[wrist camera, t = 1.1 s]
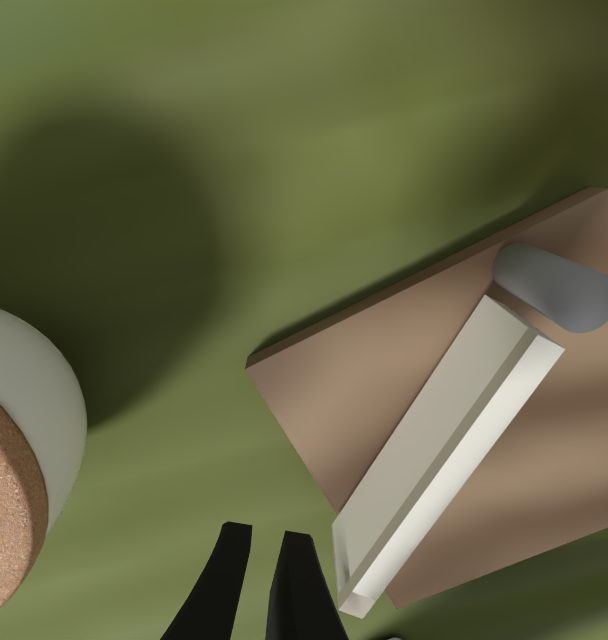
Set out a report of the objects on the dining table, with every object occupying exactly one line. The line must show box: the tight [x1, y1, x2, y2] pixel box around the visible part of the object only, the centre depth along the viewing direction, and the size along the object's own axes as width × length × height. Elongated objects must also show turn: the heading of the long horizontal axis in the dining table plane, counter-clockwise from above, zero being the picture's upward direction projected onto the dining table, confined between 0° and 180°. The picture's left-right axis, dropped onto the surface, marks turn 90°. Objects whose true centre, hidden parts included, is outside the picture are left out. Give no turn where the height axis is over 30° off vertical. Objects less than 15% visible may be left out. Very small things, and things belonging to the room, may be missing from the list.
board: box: [245, 186, 608, 609], centre depth 19 cm, size 15×15×5 cm
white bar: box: [331, 243, 608, 619], centre depth 17 cm, size 14×2×4 cm, turn 153°
